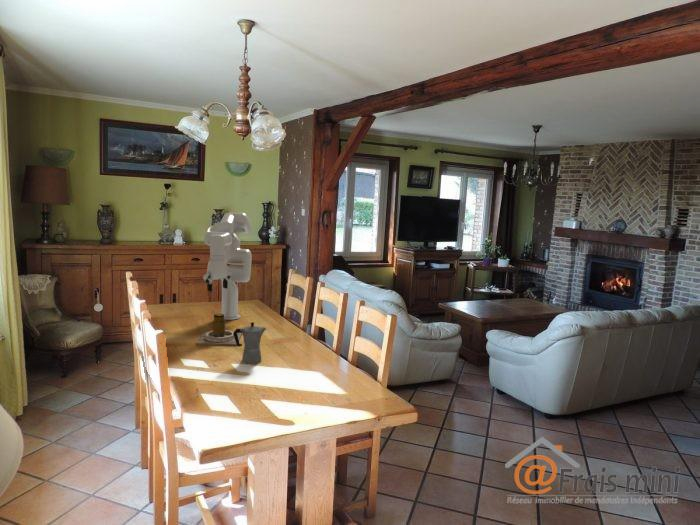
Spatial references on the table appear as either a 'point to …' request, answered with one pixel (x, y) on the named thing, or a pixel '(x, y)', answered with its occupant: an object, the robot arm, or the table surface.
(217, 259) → the robot arm
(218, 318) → the condiment
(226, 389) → the table surface
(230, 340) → the holder
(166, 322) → the table surface
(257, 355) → the coffeepot
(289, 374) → the table surface
